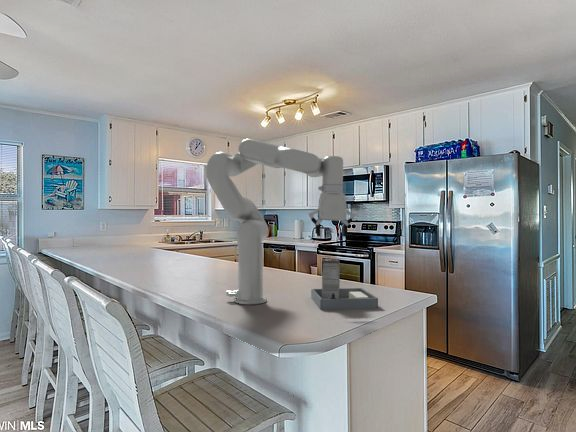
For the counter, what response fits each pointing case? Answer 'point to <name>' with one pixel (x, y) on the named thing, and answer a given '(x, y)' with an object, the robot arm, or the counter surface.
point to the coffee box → (330, 278)
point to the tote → (344, 300)
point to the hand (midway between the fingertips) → (331, 236)
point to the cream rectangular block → (357, 295)
